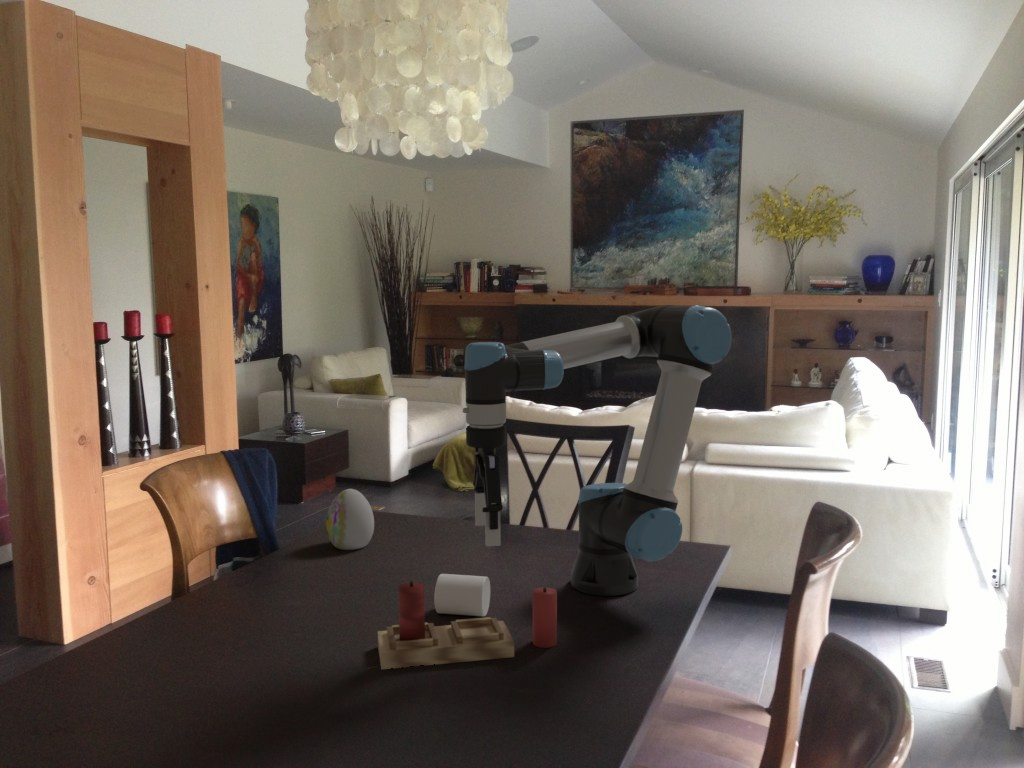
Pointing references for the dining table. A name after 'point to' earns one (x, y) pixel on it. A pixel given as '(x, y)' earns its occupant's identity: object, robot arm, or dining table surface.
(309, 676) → the dining table surface
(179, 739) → the dining table surface
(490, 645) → the oak candlestand
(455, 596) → the mug
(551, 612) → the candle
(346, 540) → the decorative egg
